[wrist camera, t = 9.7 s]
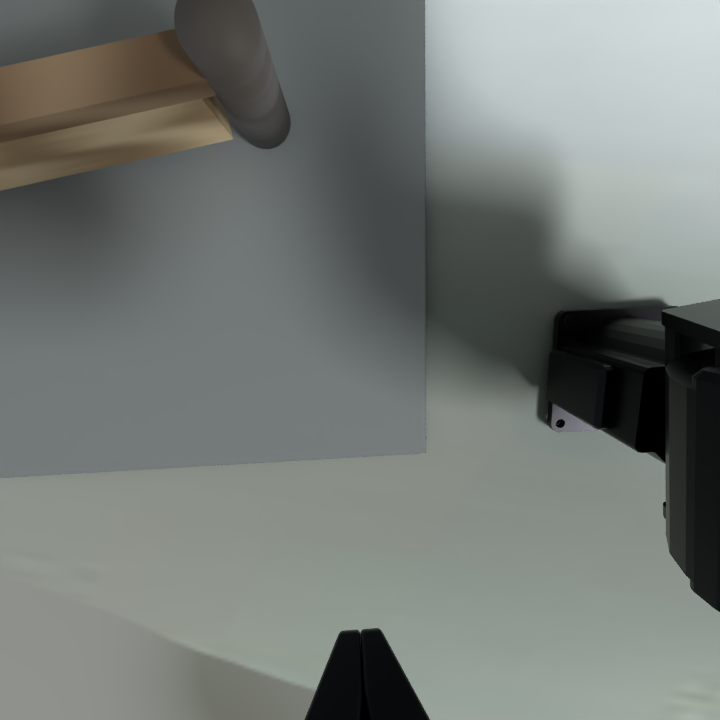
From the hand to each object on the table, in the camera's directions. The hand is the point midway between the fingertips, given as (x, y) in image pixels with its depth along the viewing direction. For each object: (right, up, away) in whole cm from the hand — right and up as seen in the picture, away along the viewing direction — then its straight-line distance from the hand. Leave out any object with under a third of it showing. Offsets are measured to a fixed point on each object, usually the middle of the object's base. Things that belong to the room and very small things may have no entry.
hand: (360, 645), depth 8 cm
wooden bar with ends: (-11, +15, +9) cm, 20 cm away
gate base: (-9, +11, +11) cm, 17 cm away
